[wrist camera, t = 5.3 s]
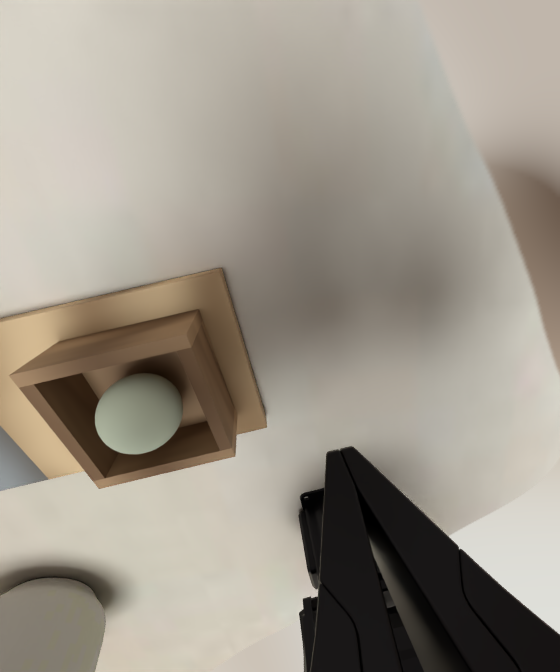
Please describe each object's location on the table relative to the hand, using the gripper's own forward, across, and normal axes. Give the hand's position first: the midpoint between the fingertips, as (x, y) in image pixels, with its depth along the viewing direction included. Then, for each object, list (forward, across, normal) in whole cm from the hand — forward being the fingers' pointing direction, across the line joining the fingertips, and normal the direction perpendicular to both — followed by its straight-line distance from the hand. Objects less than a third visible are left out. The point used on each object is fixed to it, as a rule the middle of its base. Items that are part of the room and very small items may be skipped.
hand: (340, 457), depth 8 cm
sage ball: (+5, +8, 0) cm, 9 cm away
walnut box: (+7, +8, 0) cm, 11 cm away
